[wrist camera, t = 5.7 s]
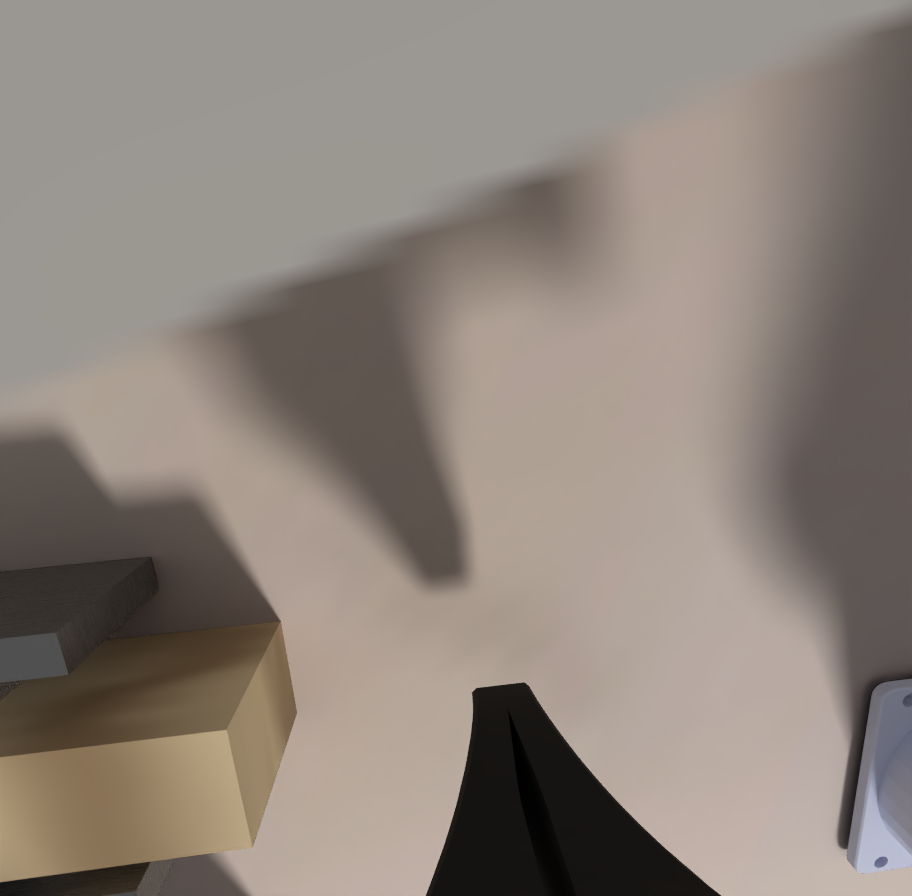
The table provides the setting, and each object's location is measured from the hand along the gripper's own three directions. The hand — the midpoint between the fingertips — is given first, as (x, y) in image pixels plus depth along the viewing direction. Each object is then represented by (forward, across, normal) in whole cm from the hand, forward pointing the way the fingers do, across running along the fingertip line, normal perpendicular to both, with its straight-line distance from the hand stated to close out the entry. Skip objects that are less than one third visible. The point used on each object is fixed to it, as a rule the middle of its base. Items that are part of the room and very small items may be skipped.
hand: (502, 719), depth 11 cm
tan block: (+3, +9, 0) cm, 9 cm away
